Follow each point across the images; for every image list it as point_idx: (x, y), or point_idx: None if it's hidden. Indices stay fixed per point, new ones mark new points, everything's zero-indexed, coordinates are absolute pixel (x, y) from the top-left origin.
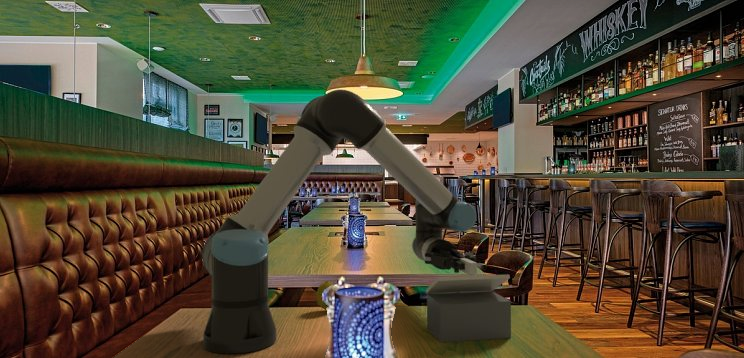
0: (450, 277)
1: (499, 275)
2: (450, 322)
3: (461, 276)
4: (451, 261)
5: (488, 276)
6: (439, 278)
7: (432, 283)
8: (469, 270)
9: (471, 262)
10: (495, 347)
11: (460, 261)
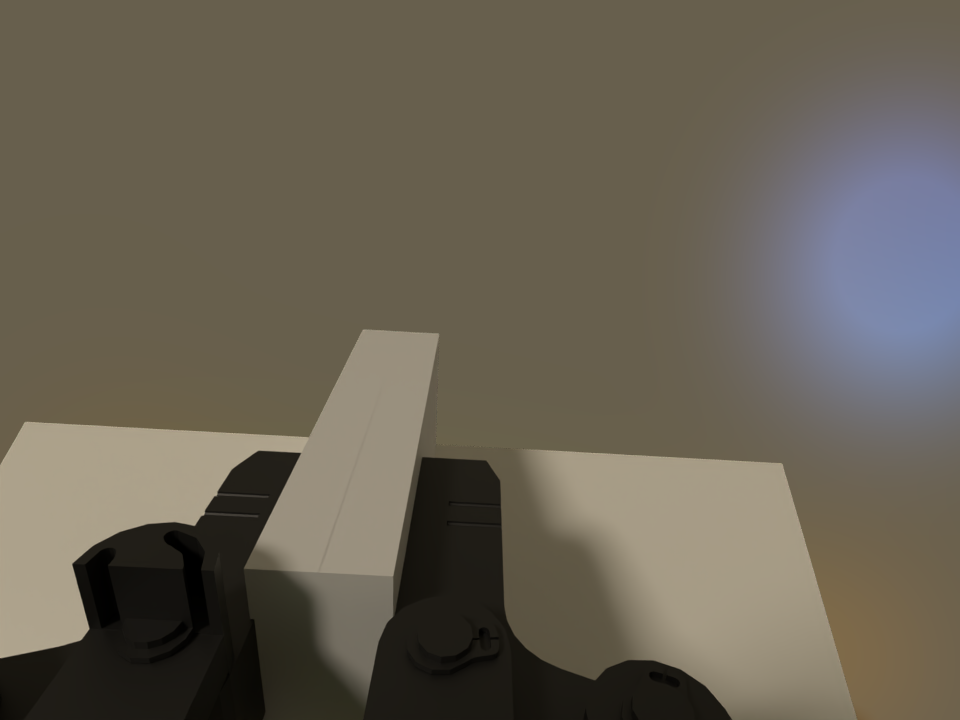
0: (651, 460)
1: (136, 431)
2: None
3: (537, 451)
4: (577, 682)
5: (256, 441)
6: (762, 469)
7: (845, 691)
8: (434, 425)
9: (406, 348)
10: None
11: (400, 592)
